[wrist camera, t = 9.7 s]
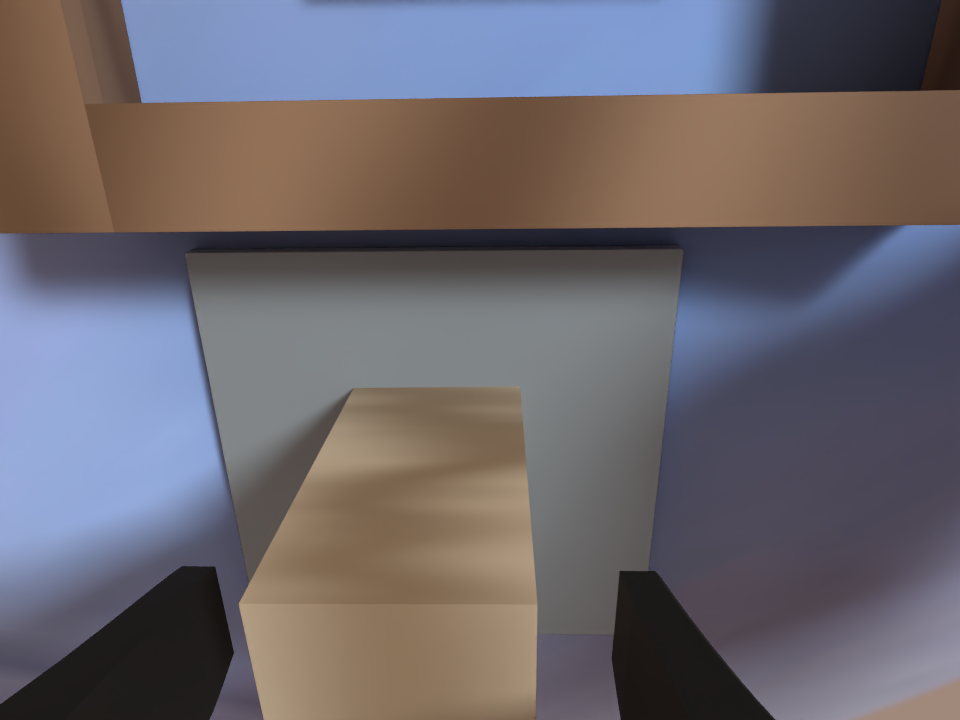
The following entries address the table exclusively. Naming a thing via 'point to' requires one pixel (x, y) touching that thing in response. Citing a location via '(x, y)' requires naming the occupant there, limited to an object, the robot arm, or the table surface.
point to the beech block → (403, 567)
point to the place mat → (456, 381)
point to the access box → (452, 150)
